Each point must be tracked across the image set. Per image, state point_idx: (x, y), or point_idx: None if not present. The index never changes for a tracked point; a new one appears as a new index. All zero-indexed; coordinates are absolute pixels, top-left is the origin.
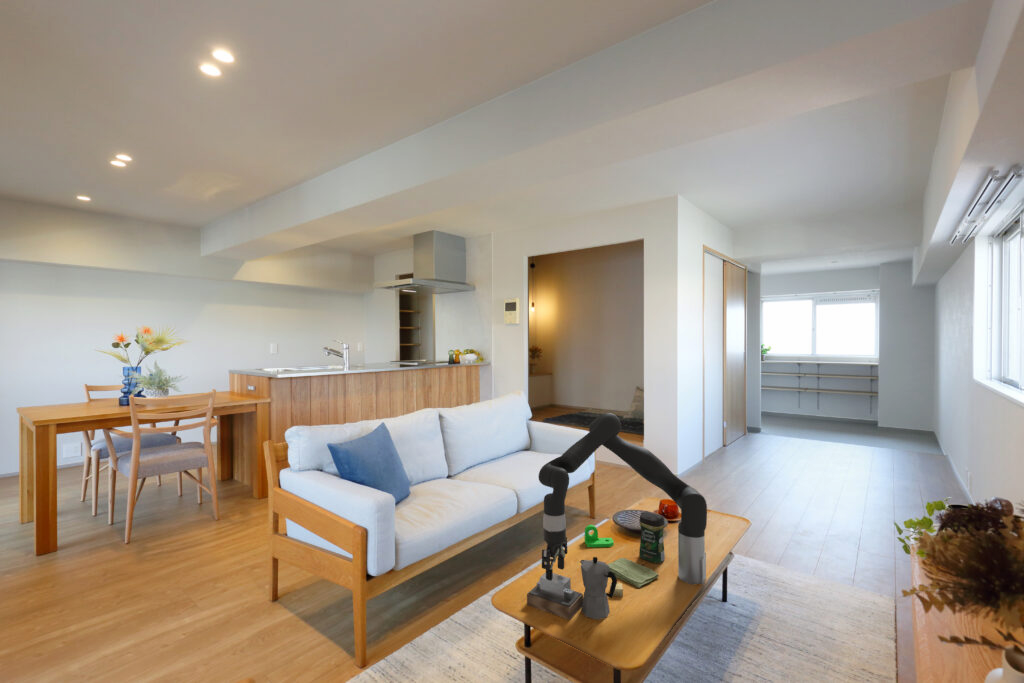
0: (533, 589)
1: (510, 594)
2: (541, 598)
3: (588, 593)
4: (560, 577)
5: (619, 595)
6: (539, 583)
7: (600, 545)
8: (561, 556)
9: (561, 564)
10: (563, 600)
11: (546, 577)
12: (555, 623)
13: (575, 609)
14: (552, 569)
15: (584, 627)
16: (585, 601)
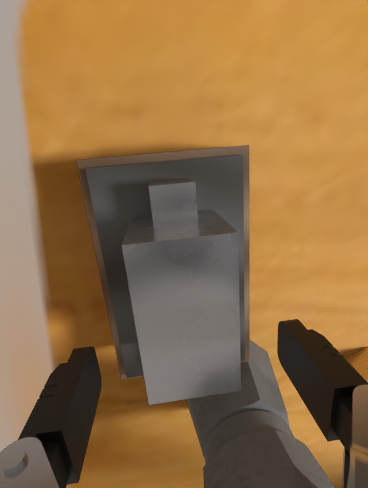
0: (131, 170)
1: (116, 8)
2: (98, 250)
3: (206, 447)
4: (214, 347)
5: None
6: (155, 205)
7: None
8: (349, 445)
9: (297, 373)
10: None
11: (53, 376)
12: (78, 317)
13: None
14: (74, 478)
15: (128, 388)
16: (199, 398)
